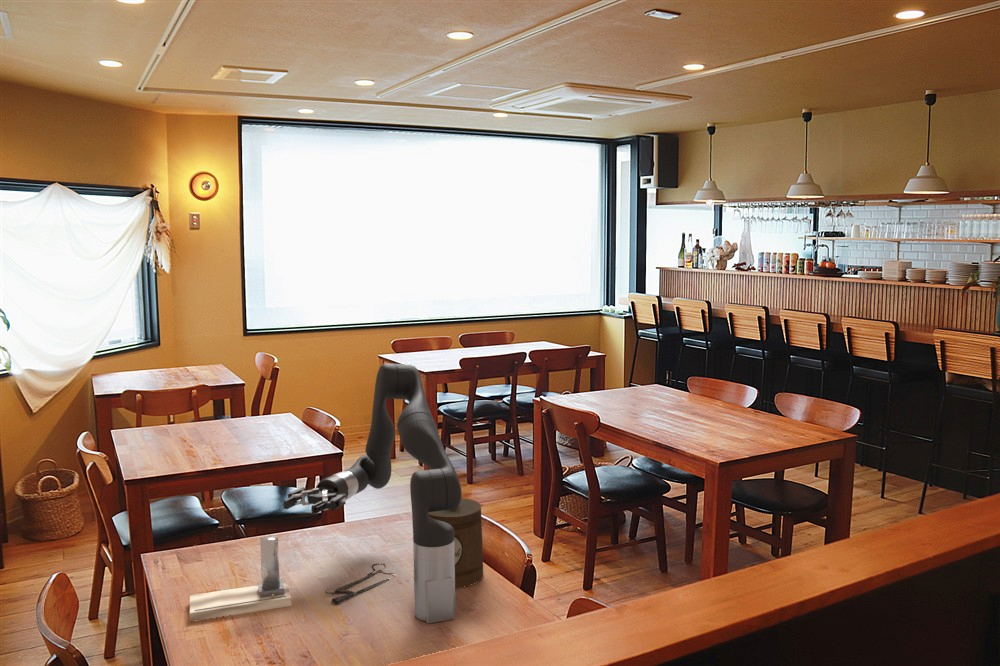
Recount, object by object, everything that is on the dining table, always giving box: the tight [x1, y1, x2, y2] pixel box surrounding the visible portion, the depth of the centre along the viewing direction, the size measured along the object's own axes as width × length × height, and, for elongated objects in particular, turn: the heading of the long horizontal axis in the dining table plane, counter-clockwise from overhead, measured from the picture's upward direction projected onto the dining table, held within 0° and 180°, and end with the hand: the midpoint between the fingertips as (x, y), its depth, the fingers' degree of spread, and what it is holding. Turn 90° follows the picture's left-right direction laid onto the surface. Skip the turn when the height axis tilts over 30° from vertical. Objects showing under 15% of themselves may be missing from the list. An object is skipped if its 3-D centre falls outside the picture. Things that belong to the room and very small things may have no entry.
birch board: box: [189, 580, 292, 622], centre depth 193 cm, size 10×22×2 cm, turn 110°
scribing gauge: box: [257, 534, 285, 598], centre depth 194 cm, size 7×6×13 cm
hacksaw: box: [324, 563, 395, 605], centre depth 205 cm, size 24×10×2 cm, turn 143°
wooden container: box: [428, 497, 484, 589], centre depth 207 cm, size 15×15×22 cm
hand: (298, 507), depth 204 cm, fingers open, 8 cm apart
